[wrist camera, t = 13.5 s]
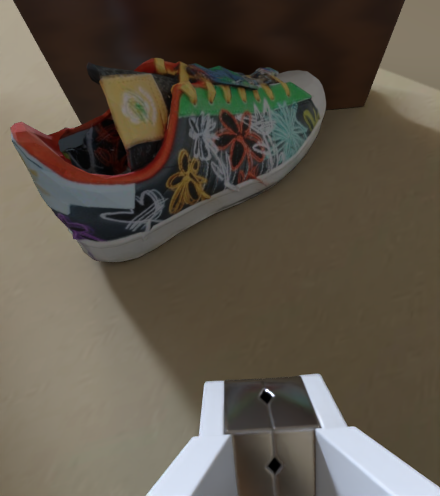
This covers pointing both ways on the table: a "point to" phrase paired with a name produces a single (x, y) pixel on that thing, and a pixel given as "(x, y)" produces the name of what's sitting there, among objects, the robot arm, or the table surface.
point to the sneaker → (170, 151)
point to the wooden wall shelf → (214, 40)
